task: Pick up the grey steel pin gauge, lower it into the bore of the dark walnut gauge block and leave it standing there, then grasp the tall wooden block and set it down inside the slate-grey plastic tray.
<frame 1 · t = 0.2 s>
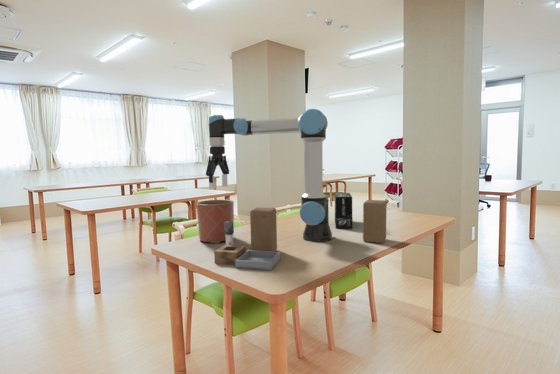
hand: (218, 187, 171), 28 cm above the table, fingers open, 13 cm apart
tray: (258, 263, 137), on the table
wooden block: (264, 253, 151), on the table
gauge block: (230, 260, 141), on the table
pin gauge: (229, 251, 153), on the table
planter: (216, 239, 176), on the table
box: (343, 225, 206), on the table
block: (374, 240, 168), on the table
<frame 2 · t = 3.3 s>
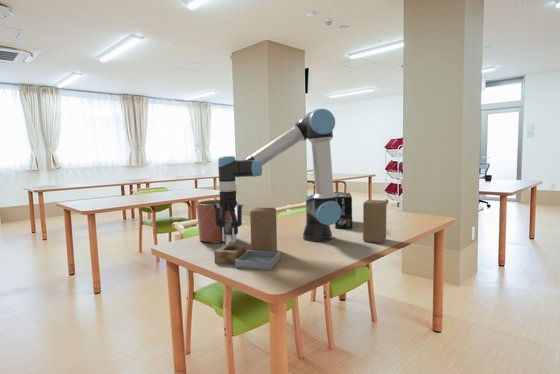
hand: (229, 240, 153), 5 cm above the table, fingers closed on pin gauge, 4 cm apart
pin gauge: (229, 251, 153), on the table, touching gripper
everything else where it was.
when the fingers open (7 cm above the table, at t = 8.4 s): pin gauge drops 1 cm, resting in gauge block.
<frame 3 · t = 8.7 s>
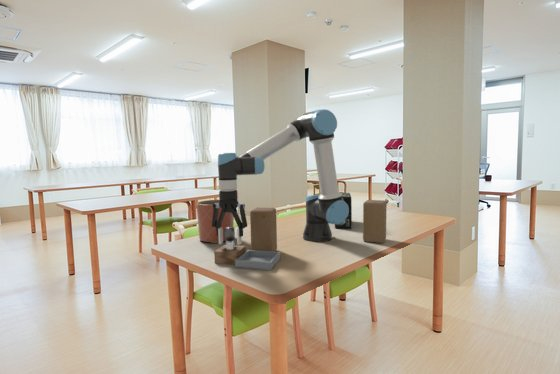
hand: (230, 243, 141), 7 cm above the table, fingers open, 8 cm apart
pin gauge: (230, 260, 141), resting in gauge block
everything else where it was.
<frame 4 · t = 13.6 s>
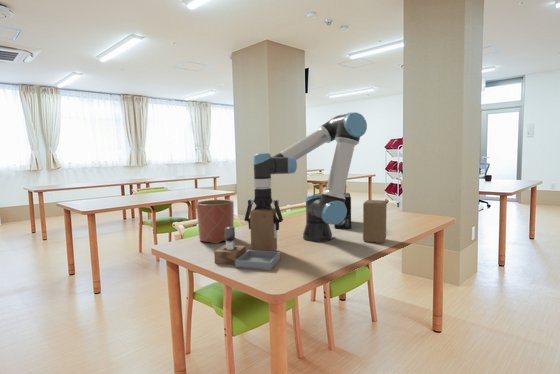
hand: (264, 236, 150), 7 cm above the table, fingers closed on wooden block, 10 cm apart
wooden block: (264, 252, 151), on the table, touching gripper
everything else where it was.
when the fingers open (9 cm above the table, at t = 19.5 s): wooden block stays where it is, resting on tray.
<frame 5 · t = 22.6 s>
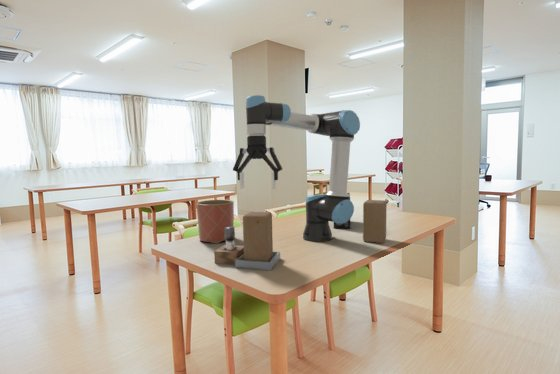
hand: (257, 188, 135), 31 cm above the table, fingers open, 13 cm apart
wooden block: (258, 262, 137), resting on tray
everything else where it was.
at the end: wooden block inside the target area on the tray (0.1 cm from its centre), point 0.4 cm above the tray's base; wooden block tilted 0°; wooden block touching tray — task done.
